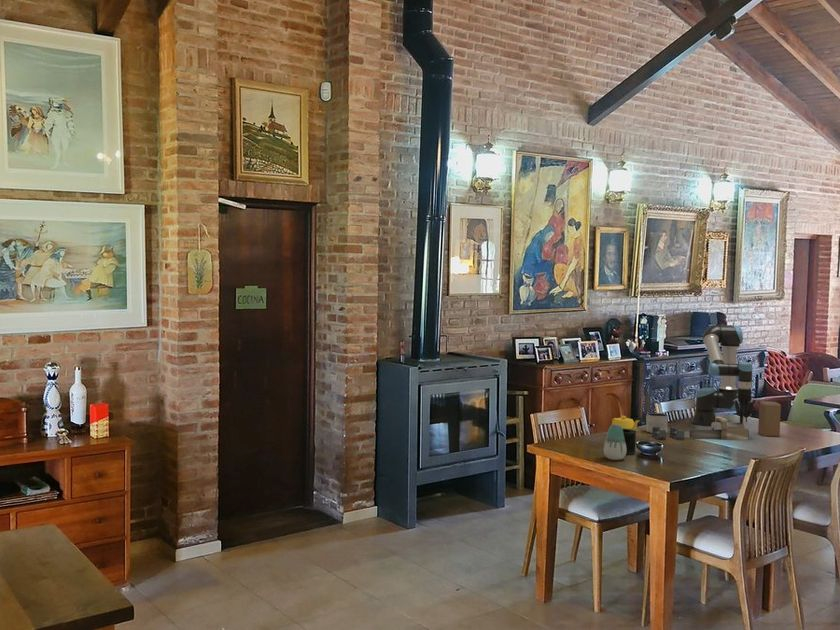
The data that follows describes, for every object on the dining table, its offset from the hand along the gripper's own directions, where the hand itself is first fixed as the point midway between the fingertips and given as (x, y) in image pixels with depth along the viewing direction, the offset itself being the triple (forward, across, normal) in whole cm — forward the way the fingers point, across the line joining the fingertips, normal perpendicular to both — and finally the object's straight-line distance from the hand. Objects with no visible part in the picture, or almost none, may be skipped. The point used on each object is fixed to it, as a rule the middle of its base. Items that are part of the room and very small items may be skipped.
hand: (743, 427), depth 481 cm
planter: (+6, -46, +17) cm, 50 cm away
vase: (+6, -98, -53) cm, 111 cm away
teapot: (+6, -72, +1) cm, 72 cm away
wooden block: (+7, +22, +10) cm, 25 cm away
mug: (+6, -88, -37) cm, 95 cm away
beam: (+6, -15, 0) cm, 16 cm away
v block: (+6, -46, 0) cm, 47 cm away
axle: (-1, -10, 0) cm, 10 cm away
